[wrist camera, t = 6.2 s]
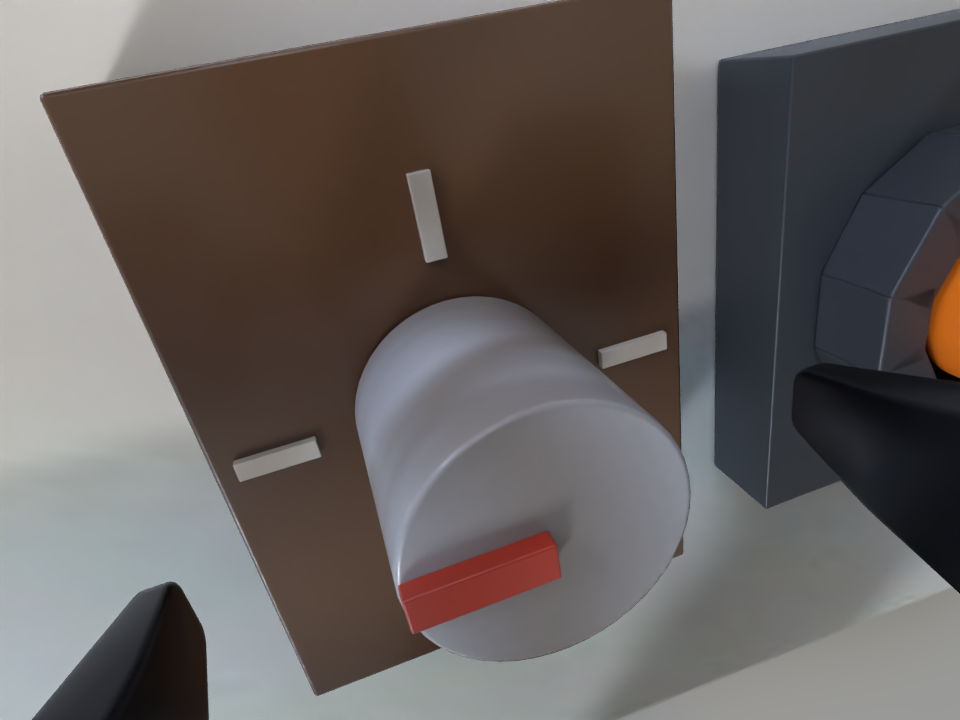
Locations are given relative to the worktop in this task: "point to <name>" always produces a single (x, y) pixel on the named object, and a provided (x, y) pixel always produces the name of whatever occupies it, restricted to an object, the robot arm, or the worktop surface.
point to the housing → (829, 228)
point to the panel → (380, 254)
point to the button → (946, 325)
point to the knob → (513, 482)
